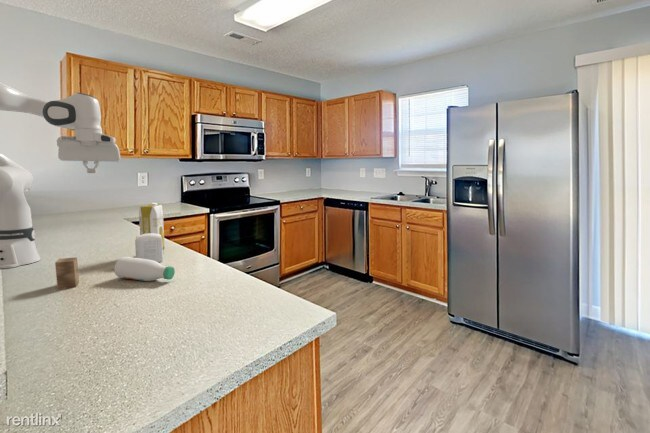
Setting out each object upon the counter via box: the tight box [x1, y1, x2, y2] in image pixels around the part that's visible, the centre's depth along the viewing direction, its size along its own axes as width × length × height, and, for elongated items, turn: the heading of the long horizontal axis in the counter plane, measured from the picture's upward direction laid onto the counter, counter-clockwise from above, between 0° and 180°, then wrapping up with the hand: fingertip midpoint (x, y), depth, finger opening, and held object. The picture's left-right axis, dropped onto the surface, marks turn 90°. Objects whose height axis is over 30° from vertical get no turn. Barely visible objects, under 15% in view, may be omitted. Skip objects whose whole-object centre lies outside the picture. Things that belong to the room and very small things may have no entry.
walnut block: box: [54, 257, 80, 290], centre depth 118 cm, size 5×5×9 cm
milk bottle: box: [114, 256, 176, 282], centre depth 126 cm, size 8×8×20 cm
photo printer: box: [134, 233, 164, 263], centre depth 147 cm, size 10×4×12 cm, turn 123°
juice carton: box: [138, 202, 165, 255], centre depth 156 cm, size 9×8×24 cm
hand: (91, 173), depth 138 cm, fingers closed
